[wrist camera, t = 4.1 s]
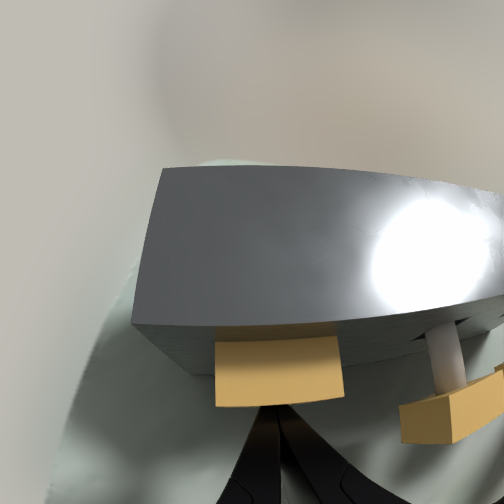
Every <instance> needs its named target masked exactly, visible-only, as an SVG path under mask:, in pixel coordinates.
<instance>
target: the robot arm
mask: <svg viewBox="0 0 504 504" xmlns="http://www.w3.org/2000/svg"><path fill="white" fill-rule="evenodd" d="M281 478H282V481H283V485H284V489H285V492H286V496H287V499H288V503H289V504H411V503H409V502H407V501H405V500H403V499H401V498H400V497H398V496H396V495H394V494H393V493H391V492H389V491H387V490H386V489H384V488H382V487H381V486H379V485H378V484H376V483H374V482H373V481H371V480H370V479H369V478H367V477H366V476H365V475H363V474H362V473H361V472H360V471H358V470H357V469H356V468H355V467H354V466H353V465H351V464H350V463H349V464H348V461H347V460H346V459H345V458H343V457H342V456H341V455H340V454H339V453H338V452H337V451H336V450H335V449H334V448H332V447H331V446H330V445H329V444H328V443H327V442H326V441H325V440H324V439H323V438H322V437H321V436H320V435H319V434H318V433H317V432H315V431H314V430H313V429H312V428H311V427H310V426H309V425H308V424H307V423H306V422H305V421H304V420H303V419H302V418H301V417H300V416H299V415H298V414H297V413H296V412H295V411H294V410H293V409H292V408H291V407H290V406H289V405H288V404H282V405H268V406H260V408H259V410H258V413H257V415H256V418H255V420H254V423H253V425H252V428H251V430H250V433H249V435H248V437H247V440H246V442H245V445H244V447H243V449H242V452H241V454H240V456H239V458H238V461H237V463H236V465H235V467H234V470H233V472H232V474H231V478H229V480H228V482H227V485H226V487H225V489H224V490H223V492H222V494H221V496H220V498H219V500H218V501H217V503H216V504H281ZM493 504H504V496H503V497H502V498H501V499H500V500H498V501H497V502H495V503H493Z"/></svg>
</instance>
